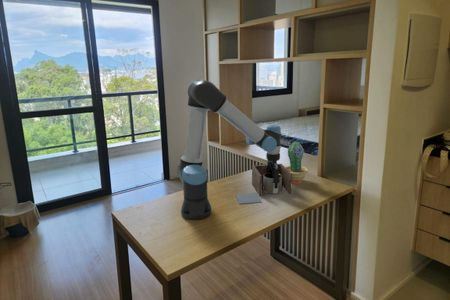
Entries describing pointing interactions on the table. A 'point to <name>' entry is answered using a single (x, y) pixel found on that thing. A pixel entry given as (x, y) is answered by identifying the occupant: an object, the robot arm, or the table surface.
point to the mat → (248, 198)
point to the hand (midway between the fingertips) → (272, 189)
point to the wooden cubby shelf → (261, 170)
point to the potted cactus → (296, 163)
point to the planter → (271, 183)
